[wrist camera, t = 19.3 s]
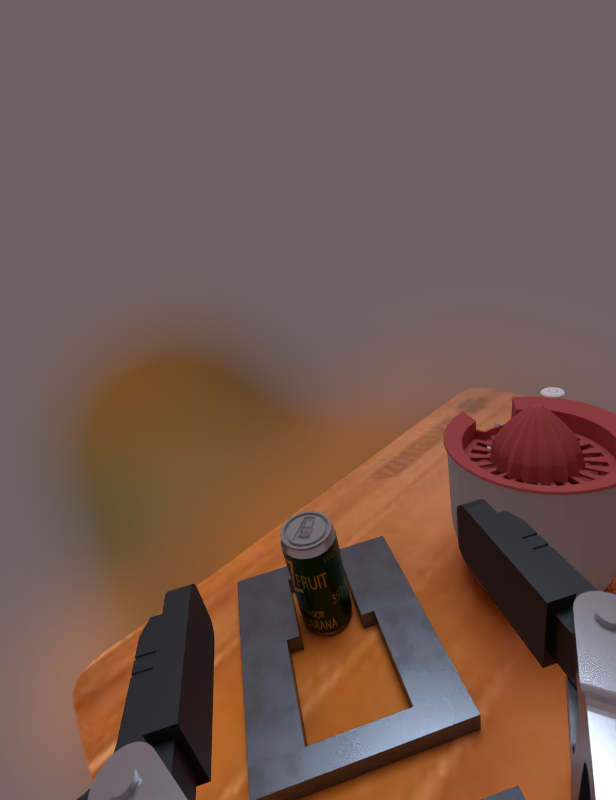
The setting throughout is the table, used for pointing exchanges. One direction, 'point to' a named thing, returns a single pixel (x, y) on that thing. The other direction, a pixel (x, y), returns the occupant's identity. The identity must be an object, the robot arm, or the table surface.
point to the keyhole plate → (278, 695)
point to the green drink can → (316, 571)
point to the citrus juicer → (545, 476)
